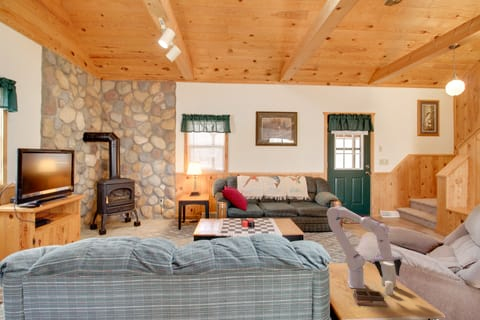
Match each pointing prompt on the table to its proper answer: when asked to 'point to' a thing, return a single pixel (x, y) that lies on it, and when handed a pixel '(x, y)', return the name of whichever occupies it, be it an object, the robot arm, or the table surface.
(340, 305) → the table surface
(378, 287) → the table surface
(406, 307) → the table surface
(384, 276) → the skincare box
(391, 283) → the plug
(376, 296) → the socket board
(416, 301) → the table surface
